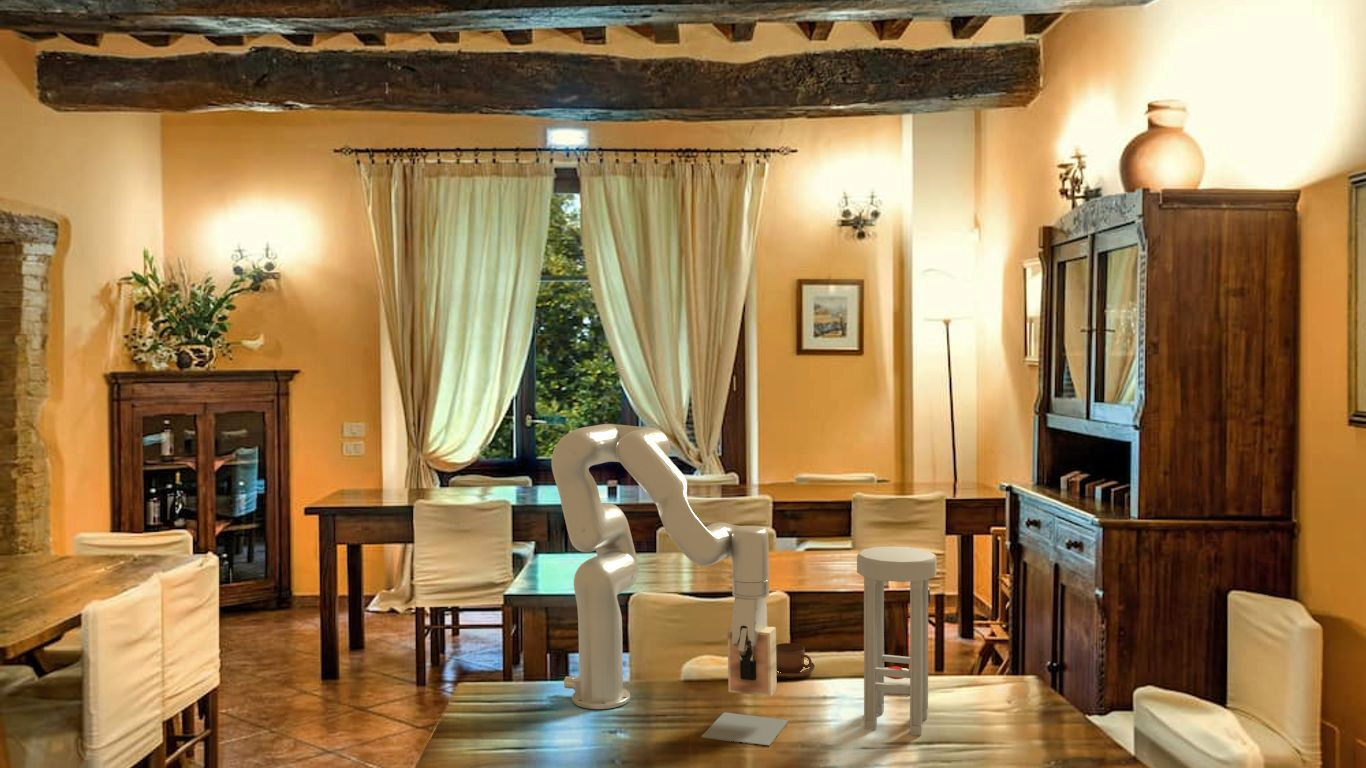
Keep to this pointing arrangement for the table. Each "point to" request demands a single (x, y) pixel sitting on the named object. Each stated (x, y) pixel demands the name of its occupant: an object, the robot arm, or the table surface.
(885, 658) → the stool
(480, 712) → the table surface
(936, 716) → the table surface
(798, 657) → the cup and saucer
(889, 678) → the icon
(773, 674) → the slab
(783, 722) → the mat
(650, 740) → the table surface
